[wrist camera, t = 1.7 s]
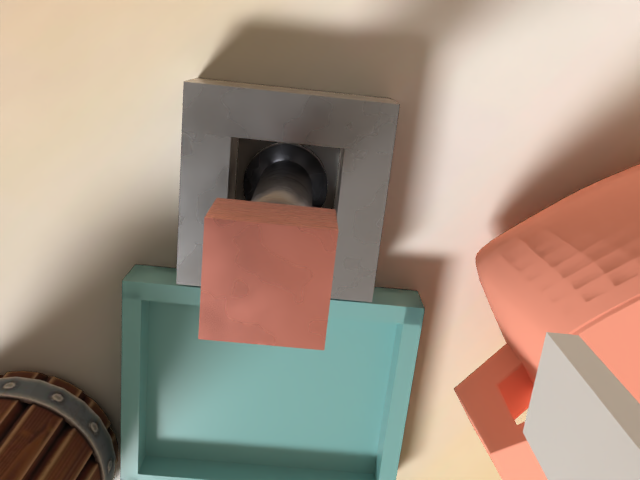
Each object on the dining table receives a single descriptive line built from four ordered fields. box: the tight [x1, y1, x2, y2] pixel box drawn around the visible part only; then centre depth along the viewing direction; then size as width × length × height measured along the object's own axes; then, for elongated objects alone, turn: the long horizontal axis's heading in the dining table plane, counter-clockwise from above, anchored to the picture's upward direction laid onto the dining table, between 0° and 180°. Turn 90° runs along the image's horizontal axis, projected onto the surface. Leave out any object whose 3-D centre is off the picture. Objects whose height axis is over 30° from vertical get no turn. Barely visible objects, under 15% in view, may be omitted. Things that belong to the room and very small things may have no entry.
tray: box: [120, 265, 425, 480], centre depth 36 cm, size 16×13×2 cm
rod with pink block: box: [198, 142, 339, 350], centre depth 26 cm, size 4×4×15 cm
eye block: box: [176, 78, 400, 302], centre depth 31 cm, size 10×10×4 cm
